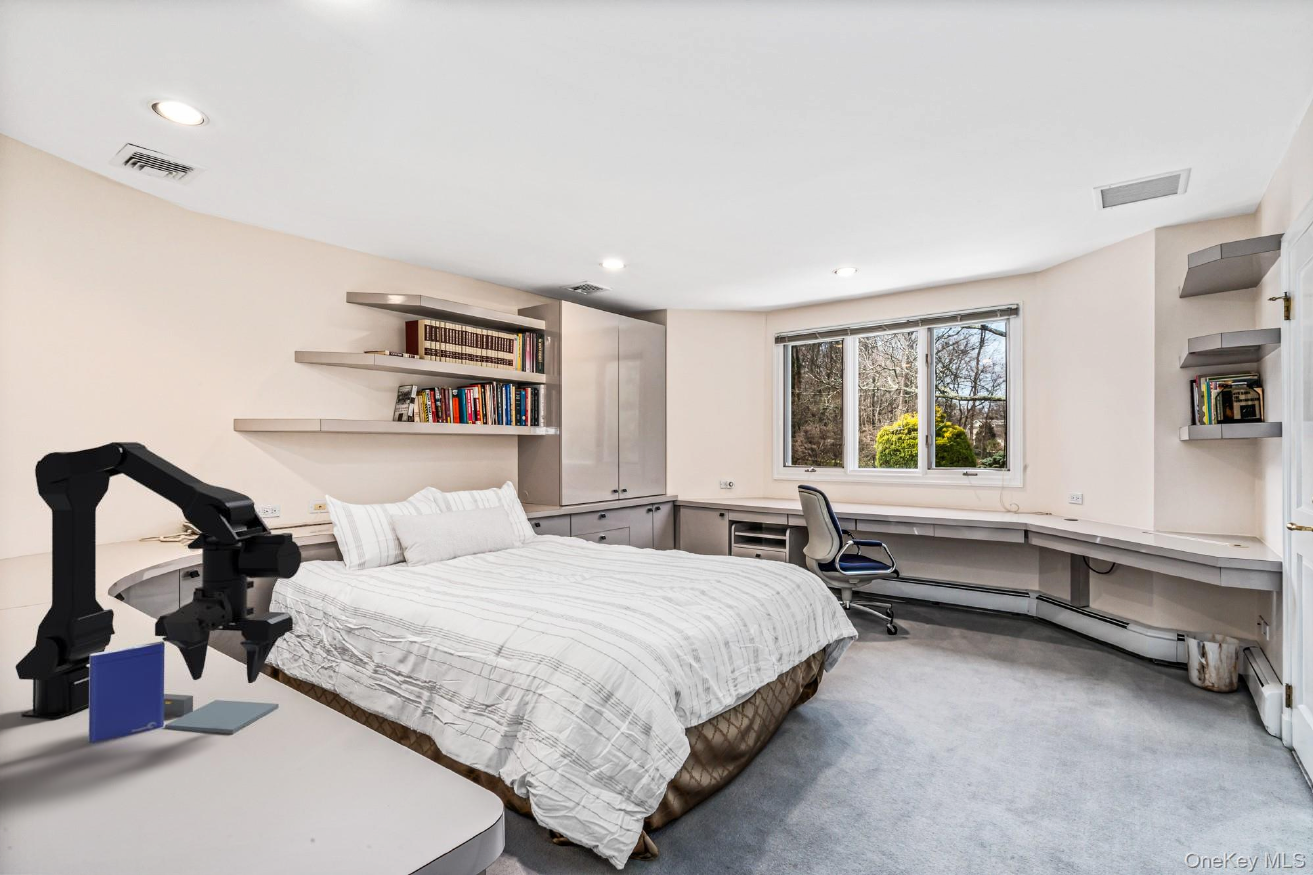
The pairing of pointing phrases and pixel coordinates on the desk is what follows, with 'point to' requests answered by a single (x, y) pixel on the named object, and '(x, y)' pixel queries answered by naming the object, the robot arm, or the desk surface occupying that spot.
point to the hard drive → (126, 691)
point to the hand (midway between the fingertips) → (224, 680)
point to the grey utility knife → (177, 704)
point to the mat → (223, 716)
